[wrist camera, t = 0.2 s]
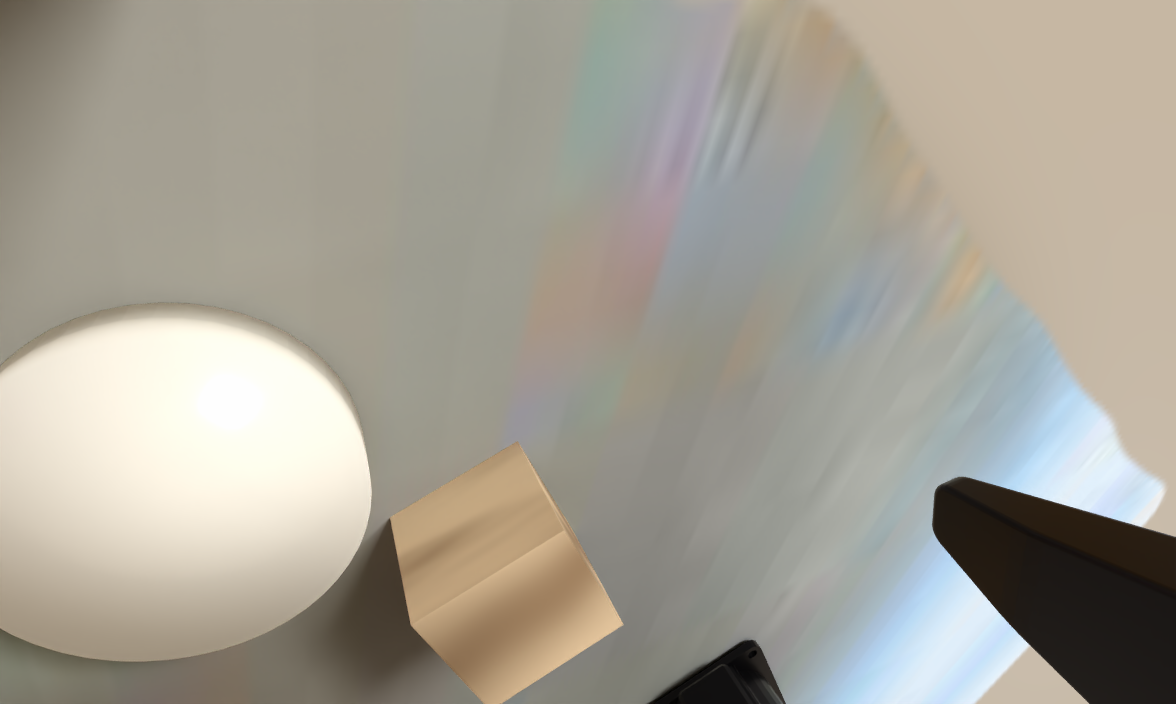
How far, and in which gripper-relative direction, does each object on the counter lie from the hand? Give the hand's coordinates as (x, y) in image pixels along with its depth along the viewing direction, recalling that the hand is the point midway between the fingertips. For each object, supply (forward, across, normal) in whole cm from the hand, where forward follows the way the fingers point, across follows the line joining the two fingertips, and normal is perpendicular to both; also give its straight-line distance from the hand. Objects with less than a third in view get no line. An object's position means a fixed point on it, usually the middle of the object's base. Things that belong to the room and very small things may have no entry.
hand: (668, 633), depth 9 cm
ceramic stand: (+14, +9, +2) cm, 17 cm away
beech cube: (+14, +2, +9) cm, 17 cm away
